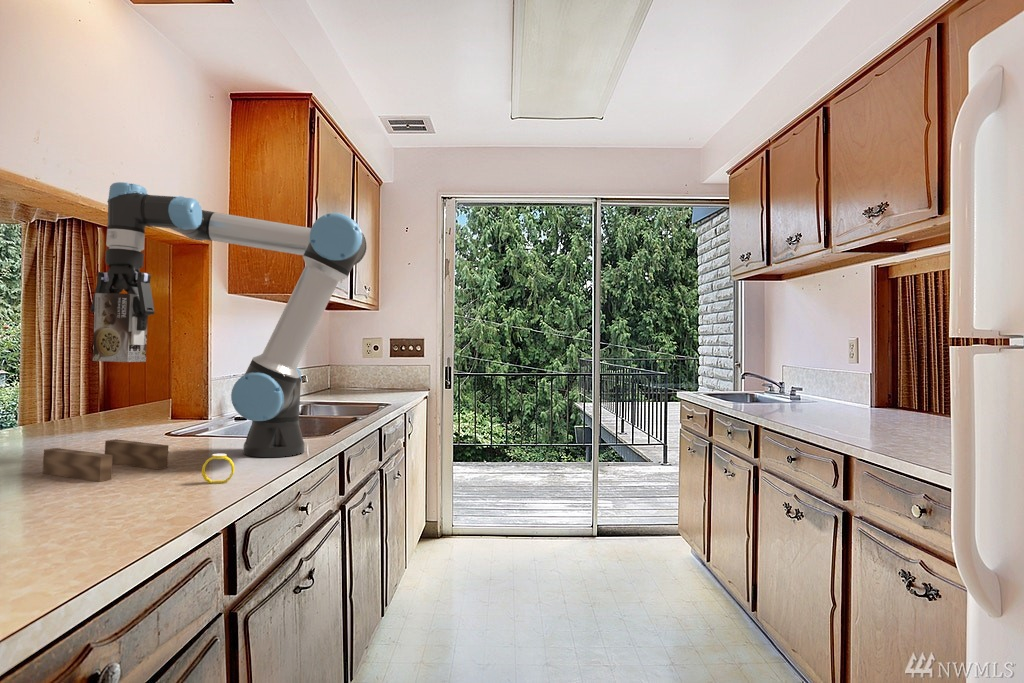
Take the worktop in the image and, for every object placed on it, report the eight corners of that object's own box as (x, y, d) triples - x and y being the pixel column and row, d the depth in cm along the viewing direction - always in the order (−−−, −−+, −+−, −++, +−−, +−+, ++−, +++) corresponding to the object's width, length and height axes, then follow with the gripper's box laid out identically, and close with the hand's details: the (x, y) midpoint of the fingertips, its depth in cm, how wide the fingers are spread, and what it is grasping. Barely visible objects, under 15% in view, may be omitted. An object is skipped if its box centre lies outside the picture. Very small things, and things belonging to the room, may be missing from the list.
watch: (233, 482, 124) (237, 454, 124) (231, 485, 121) (234, 456, 121) (202, 480, 122) (206, 452, 122) (199, 483, 119) (203, 454, 120)
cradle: (167, 467, 133) (168, 445, 133) (99, 481, 118) (100, 457, 118) (114, 460, 138) (115, 439, 138) (42, 473, 123) (43, 449, 123)
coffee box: (147, 362, 141) (150, 295, 141) (127, 362, 134) (130, 292, 135) (112, 360, 142) (115, 294, 142) (90, 360, 135) (94, 291, 136)
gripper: (74, 247, 138) (69, 341, 138) (147, 246, 132) (142, 345, 131) (104, 252, 145) (100, 342, 145) (175, 252, 139) (171, 346, 139)
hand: (120, 343), depth 138 cm, fingers closed on coffee box, 10 cm apart
